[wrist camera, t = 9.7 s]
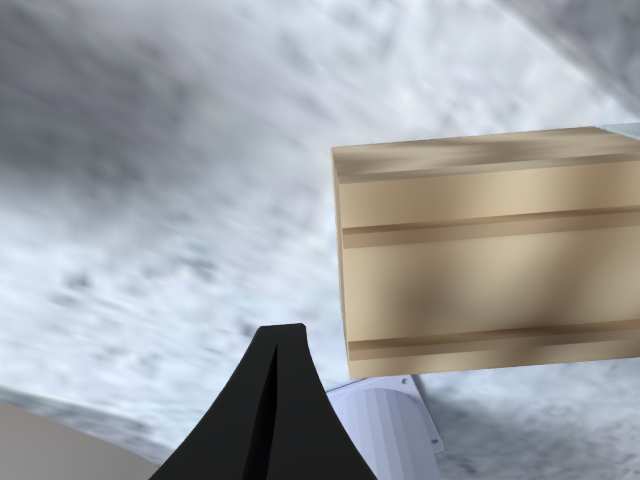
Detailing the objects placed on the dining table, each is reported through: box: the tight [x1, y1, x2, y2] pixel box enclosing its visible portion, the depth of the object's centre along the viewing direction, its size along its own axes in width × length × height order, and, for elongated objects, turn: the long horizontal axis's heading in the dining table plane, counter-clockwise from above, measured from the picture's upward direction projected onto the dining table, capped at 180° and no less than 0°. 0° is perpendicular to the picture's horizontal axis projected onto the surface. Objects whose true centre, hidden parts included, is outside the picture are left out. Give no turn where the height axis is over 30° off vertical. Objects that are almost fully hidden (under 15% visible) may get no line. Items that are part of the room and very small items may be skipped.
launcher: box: [331, 127, 640, 379], centre depth 19 cm, size 18×10×6 cm, turn 94°
